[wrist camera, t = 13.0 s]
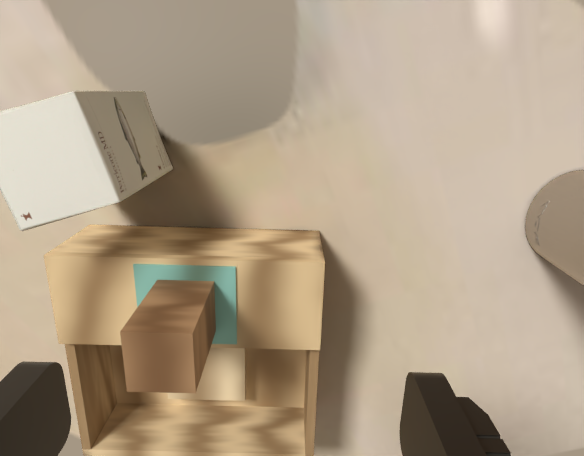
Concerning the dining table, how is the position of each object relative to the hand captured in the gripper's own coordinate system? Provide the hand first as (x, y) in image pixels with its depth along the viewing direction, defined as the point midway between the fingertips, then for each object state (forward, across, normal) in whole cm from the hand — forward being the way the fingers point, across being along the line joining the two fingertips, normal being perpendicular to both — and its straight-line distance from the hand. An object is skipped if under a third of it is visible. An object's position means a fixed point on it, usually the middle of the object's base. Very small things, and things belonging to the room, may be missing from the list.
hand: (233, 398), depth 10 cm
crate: (+30, +7, +16) cm, 35 cm away
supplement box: (+30, +14, -2) cm, 33 cm away
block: (+22, +7, +10) cm, 25 cm away
